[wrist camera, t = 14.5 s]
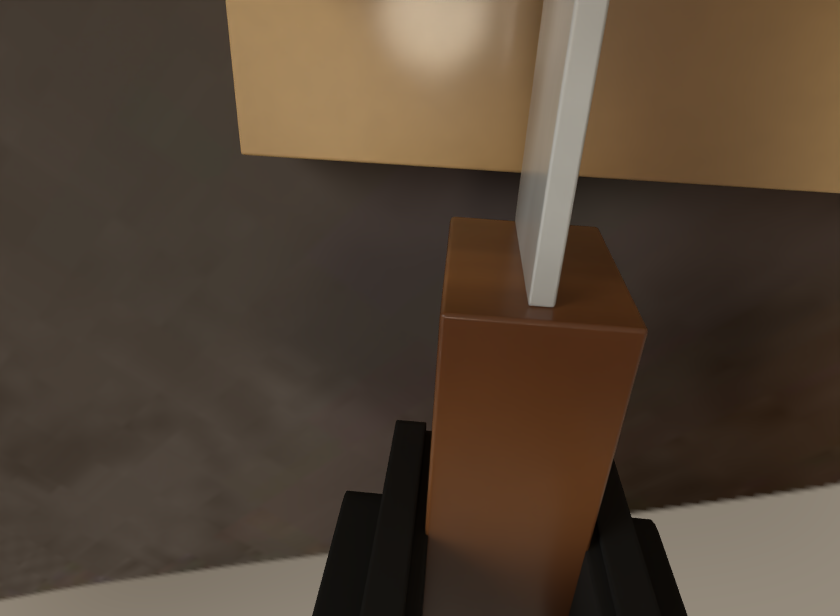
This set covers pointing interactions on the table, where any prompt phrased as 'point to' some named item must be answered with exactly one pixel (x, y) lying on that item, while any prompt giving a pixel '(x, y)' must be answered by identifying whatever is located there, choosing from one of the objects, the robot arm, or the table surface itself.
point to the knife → (529, 364)
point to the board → (513, 79)
